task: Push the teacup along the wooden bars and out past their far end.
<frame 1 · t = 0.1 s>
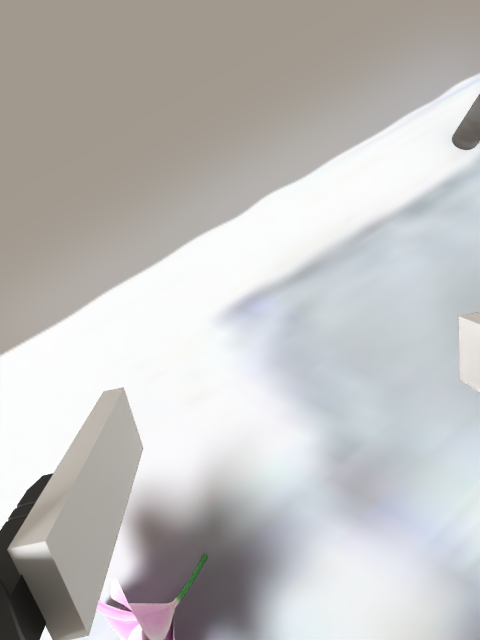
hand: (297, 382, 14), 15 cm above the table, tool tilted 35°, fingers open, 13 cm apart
lily: (164, 605, 25), on the table
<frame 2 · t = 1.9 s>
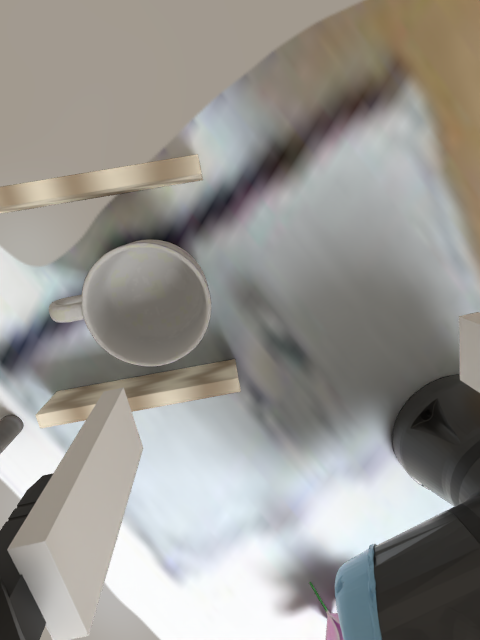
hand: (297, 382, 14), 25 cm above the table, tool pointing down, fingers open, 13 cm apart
teacup: (144, 288, 37), on the table
lily: (328, 594, 51), on the table
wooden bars: (125, 292, 37), on the table
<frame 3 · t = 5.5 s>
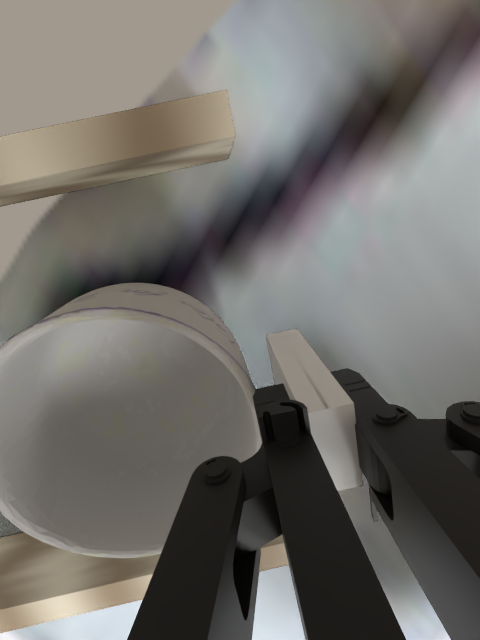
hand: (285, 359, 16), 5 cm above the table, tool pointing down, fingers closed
teacup: (125, 364, 20), on the table, touching gripper
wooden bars: (91, 373, 20), on the table
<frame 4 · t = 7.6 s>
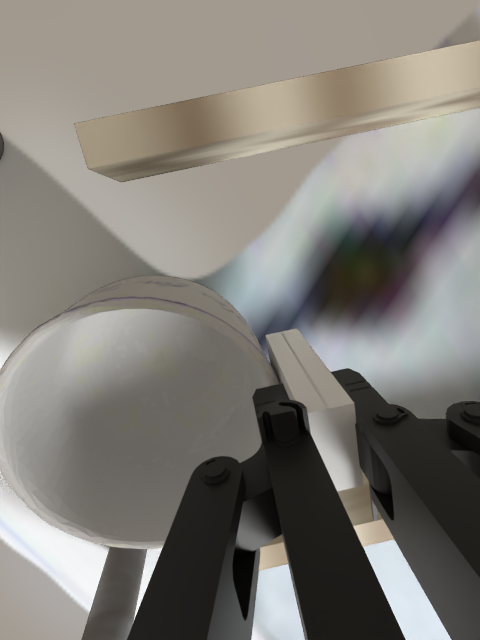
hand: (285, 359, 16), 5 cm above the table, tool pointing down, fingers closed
teacup: (140, 357, 20), on the table, touching gripper
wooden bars: (339, 318, 21), on the table
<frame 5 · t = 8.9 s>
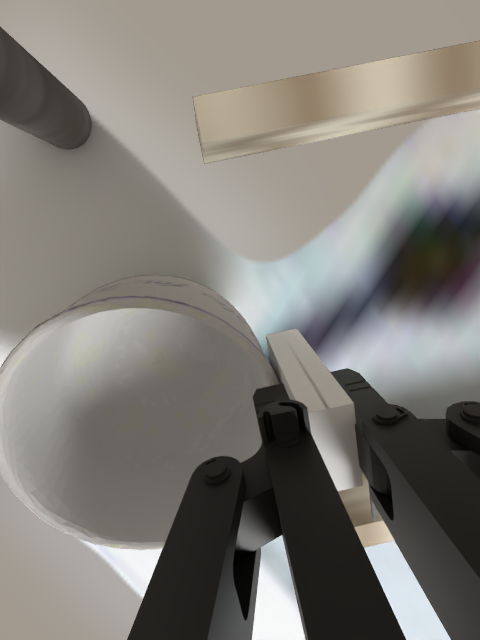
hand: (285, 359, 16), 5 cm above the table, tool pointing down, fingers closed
teacup: (139, 357, 20), on the table, touching gripper
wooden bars: (409, 304, 21), on the table
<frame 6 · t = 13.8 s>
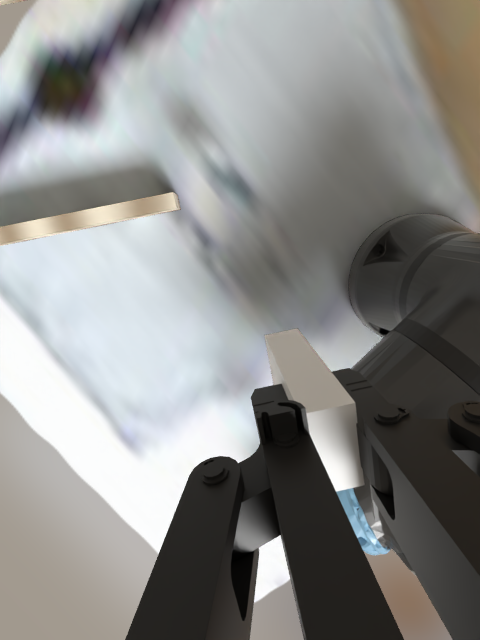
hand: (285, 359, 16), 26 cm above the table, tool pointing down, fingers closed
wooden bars: (55, 115, 35), on the table
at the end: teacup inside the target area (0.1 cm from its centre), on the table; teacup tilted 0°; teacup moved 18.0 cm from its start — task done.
